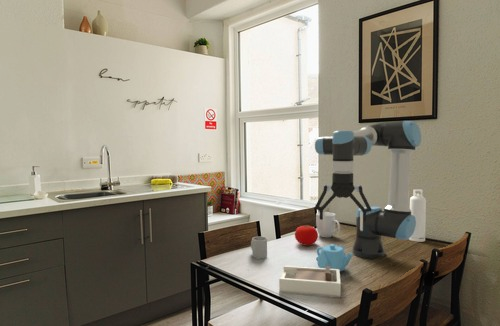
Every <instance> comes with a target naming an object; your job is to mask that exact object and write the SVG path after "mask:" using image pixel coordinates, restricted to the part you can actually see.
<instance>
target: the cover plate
mask: <svg viewBox="0 0 500 326" xmlns="http://www.w3.org/2000/svg"><path fill="white" fill-rule="evenodd" d="M295 279H304V280H317V281H331V282H333V272H330V266H327V265H326V271H325V272H324V271H310V270H297V272H296V276H295Z"/></svg>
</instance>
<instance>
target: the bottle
mask: <svg viewBox="0 0 500 326" xmlns="http://www.w3.org/2000/svg"><path fill="white" fill-rule="evenodd" d="M412 192H413V193H412V194H413V195H412V196H411V197H409V208H410V210H411V215H413V216H415V218H416V219H415V220H416V226H415V230H414V233H413V234H412V236H411V237H410V238H409V239H408V240H410V241H412V242H416V243H417V242H418V243H419V242H420V243H422V242H425V241H426V223H427V221H426V216H427V215H426V214H427V212H426V211H427V199H426V197H425V196H424V195H423V194H424V193H423V192H424V190H423V189H418V188H416V189H414V188H413V191H412ZM416 192H417V193H416Z"/></svg>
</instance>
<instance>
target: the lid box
mask: <svg viewBox="0 0 500 326" xmlns="http://www.w3.org/2000/svg"><path fill="white" fill-rule="evenodd" d="M297 270H310V271H324V272H325V271H326V268H319V267H312V266H297V265H296V266H295V265H283V271H282V274H281V277H279V278H278V280H279V281H278V282H279V283H278V287H279V290H278V291H279V293H280V294H293V295H303V296H304V295H305V296H315V297H316V296H317V297H327V298H329V297H330V298H341V289H342V288H341V274H340V273H341V271H339V269H330V272H333V282H331V281H317V280H304V279H295V276H296V272H297Z"/></svg>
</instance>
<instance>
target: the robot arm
mask: <svg viewBox="0 0 500 326" xmlns="http://www.w3.org/2000/svg"><path fill="white" fill-rule="evenodd" d="M421 142H422V132H421V128H420V126H419V125H418V123H417V122H416V121H413V120H399V121H398V120H397V121H381V122H378V123H374V124H370V125H366V126H363V127H361V128H360V129H359V130H354V131H353V130H336V131H333V133H332V135H330V136H324V135H323V136H320V137H317V138H316V140H315V142H314V149H315V152H316V153H317V154H319V155H324V156H326V155H327V156H329V155H330V156H332V163H331V164H332V171H333V173H332V176H331V177H332V179H331V180H332V181H331V185H327V184H324V185H323V191H322V192H321V194H320V197H319V198H318V200H317V202H316V204H315V205H314V209H315V210H317V211H318V212H320V220H323V229H325V212H326V210H325V209H326V207H327V206H329V204H330V203H331V202H332V201H333V200H334V199H335V198H336V197H337V198H340V199H341V198H345V199H348V198H350V199H351V200H352V201H353V202H354V203H355V205H356V206H357V207H358V209H357V210H356V216H355V218H356V219H355V220H356V225H355V226H356V228H355V229H356V230H355V231H356V235H355V236H356V237H355V239H354V243H353V246H352V254H353V255H354V256H356V257H360V258H364V259H371V260H372V259H381V258H384V257H385V256H386V253H385V252H386V250H385V247H384V242H383V240H382V237H387V238H391V239H395V240H403V241H405V240H410V239H409V238H410V237H411V236H412V234H413V233H414V230H415V226H416V220H415V219H416V218H415V216H413V215H411V210H410V206H409V200H410V180H411V163H412V154H413V153H415V152H416V148H417V147H419V146H420V145H421ZM373 146H375V147H387V150H388V152H389V153H390V165H389V166H390V167H389V168H390V170H389V183H388V195H387V197H388V200H387V205H386V206H385V207H383V209H382V207H381V206H376V205H375V206H371V205H370V204H369V202H368V199H367V197H366V195H365V194H364V192H363V187H362V185H354V173H353V172H354V157H356V156H360V157H362V156H366V155H368V154H369V153H370V151H371V150H372V147H373ZM330 190H331V191H332V193H331V195H330V196H329V197H328V199H327V200H326V201H325V202H324V203H323V204H322V205H321V203H322V202H323V200H324V198H325V196H326V194H327V192H329V191H330ZM355 190H356V192H357V193H358V194H359V195H360V197H361V200H363V204H364V206H363V205H362V204H361V202H360V201H359V200H358V199H357V198H356V196H355V195H354V194H353V192H354V191H355ZM320 205H321V206H320Z"/></svg>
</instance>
